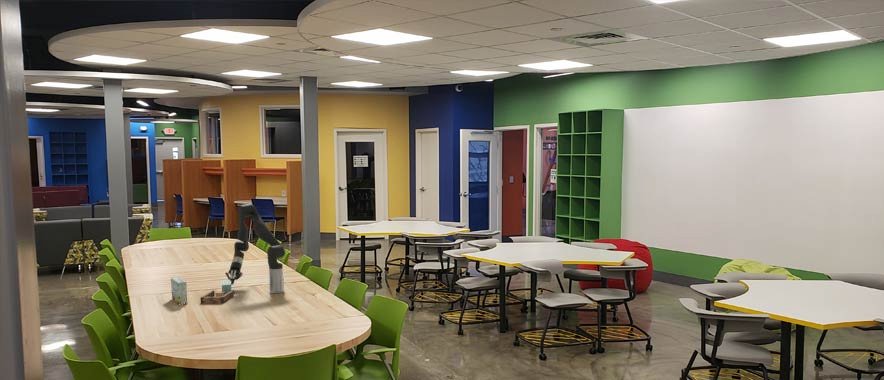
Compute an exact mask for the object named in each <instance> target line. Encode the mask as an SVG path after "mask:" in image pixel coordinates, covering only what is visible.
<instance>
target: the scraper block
mask: <svg viewBox="0 0 884 380" xmlns="http://www.w3.org/2000/svg"><path fill="white" fill-rule="evenodd" d="M231 290H232V285H231V281H230V280H222V282H221V291H225V292H226V294H227V293H228V292H230V291H231Z"/></svg>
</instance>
